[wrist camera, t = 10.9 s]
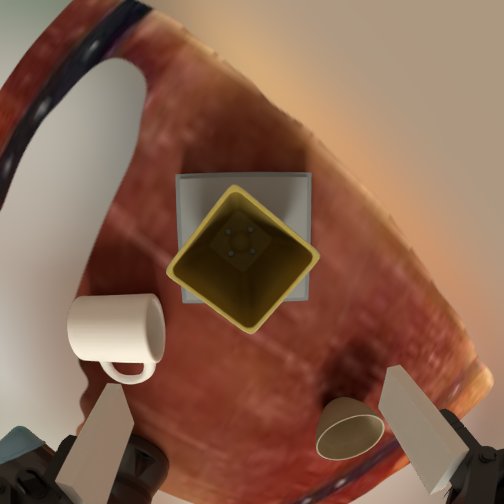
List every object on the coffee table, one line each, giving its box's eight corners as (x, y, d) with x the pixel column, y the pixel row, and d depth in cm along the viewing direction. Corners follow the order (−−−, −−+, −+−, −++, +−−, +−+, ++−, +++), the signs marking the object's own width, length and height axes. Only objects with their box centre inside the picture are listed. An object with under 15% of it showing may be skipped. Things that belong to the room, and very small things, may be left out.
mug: (88, 287, 35) (59, 311, 27) (158, 283, 35) (139, 310, 28) (110, 365, 38) (89, 398, 30) (175, 366, 38) (163, 403, 30)
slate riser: (186, 294, 36) (182, 304, 33) (180, 175, 33) (174, 174, 30) (303, 292, 36) (308, 301, 33) (305, 173, 33) (311, 172, 30)
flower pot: (301, 235, 32) (324, 256, 23) (248, 297, 33) (251, 337, 24) (235, 181, 30) (233, 180, 21) (183, 247, 31) (162, 272, 23)
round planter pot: (351, 372, 39) (368, 403, 32) (377, 405, 41) (393, 434, 34) (294, 409, 40) (302, 442, 34) (326, 437, 43) (336, 468, 36)
